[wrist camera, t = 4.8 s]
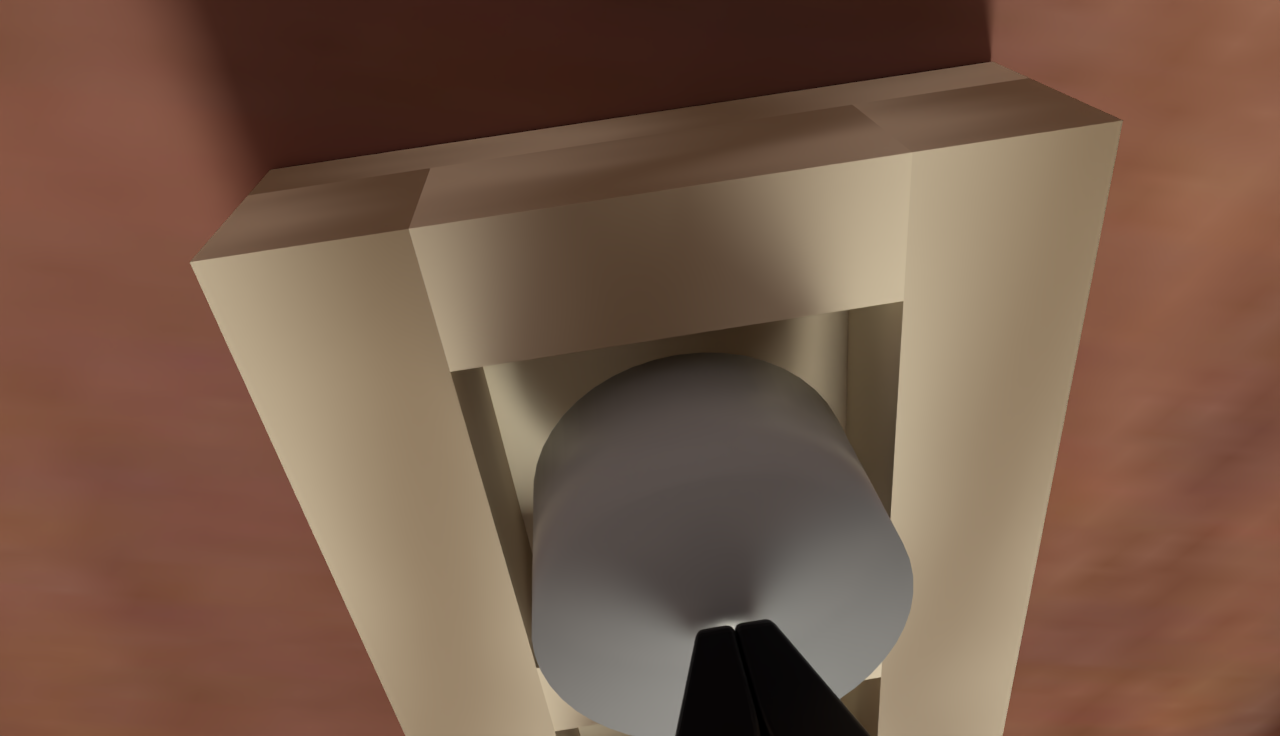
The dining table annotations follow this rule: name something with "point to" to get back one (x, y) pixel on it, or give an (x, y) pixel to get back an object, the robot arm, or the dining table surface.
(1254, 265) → the dining table surface
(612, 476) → the button slate
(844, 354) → the wooden compartment tray
